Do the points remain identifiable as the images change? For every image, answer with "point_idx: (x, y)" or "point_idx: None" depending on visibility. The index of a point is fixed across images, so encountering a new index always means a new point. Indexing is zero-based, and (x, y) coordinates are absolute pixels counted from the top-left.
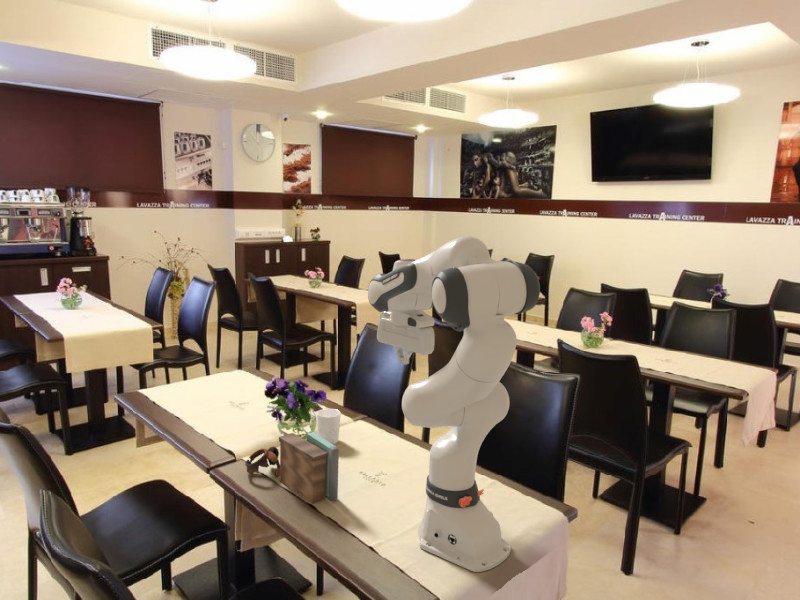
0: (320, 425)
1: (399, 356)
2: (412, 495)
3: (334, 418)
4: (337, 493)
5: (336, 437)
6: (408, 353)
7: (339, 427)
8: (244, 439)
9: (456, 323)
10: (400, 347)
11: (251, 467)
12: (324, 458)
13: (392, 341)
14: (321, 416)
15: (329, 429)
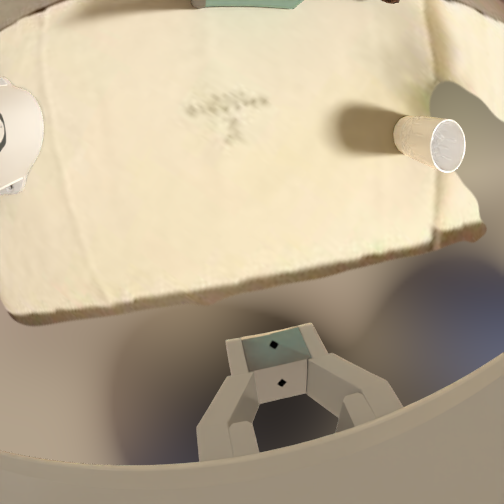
0: (431, 117)
1: (311, 363)
2: (123, 140)
3: (427, 140)
4: (192, 2)
5: (400, 142)
6: (201, 436)
7: (414, 156)
8: (469, 40)
9: None
10: (300, 450)
11: None
12: None
13: (457, 431)
14: (444, 119)
15: (415, 127)
